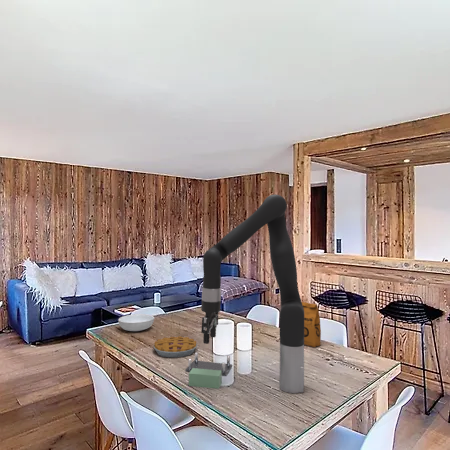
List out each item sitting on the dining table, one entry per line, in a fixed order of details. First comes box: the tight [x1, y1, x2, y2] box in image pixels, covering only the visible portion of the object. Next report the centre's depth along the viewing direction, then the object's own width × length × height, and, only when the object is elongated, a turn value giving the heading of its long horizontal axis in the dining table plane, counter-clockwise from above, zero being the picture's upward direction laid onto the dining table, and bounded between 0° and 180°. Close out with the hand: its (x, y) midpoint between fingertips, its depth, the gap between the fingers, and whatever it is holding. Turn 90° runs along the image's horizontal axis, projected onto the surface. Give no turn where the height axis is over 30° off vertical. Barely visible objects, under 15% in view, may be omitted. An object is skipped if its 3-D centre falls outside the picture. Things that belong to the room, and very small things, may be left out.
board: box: [188, 368, 223, 390], centre depth 140 cm, size 12×6×5 cm, turn 80°
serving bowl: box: [118, 313, 155, 332], centre depth 214 cm, size 21×21×7 cm
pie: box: [153, 335, 198, 358], centre depth 177 cm, size 22×22×5 cm
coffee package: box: [301, 301, 322, 348], centre depth 190 cm, size 10×12×22 cm
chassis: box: [185, 351, 233, 377], centre depth 155 cm, size 18×11×5 cm, turn 75°
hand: (209, 340), depth 140 cm, fingers open, 8 cm apart
